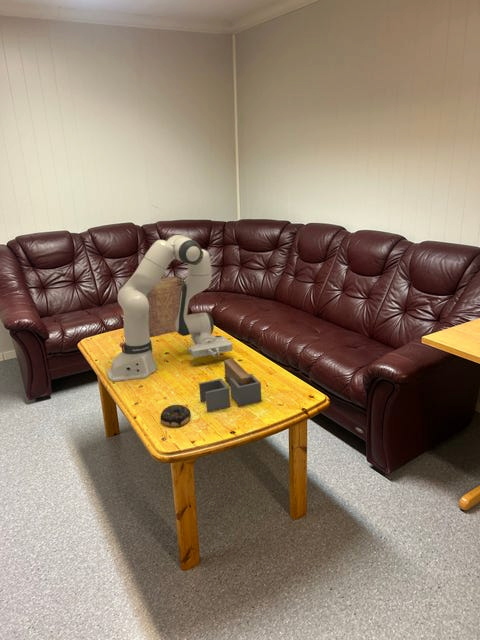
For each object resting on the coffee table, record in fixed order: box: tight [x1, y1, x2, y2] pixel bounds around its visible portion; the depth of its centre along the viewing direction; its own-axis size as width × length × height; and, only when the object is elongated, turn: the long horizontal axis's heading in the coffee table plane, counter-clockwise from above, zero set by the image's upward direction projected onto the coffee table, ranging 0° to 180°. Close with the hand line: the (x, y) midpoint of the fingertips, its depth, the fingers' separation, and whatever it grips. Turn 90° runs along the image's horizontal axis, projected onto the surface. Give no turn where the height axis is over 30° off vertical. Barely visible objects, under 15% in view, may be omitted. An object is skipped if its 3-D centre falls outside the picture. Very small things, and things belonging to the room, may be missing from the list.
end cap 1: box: [198, 378, 231, 413], centre depth 177 cm, size 9×9×8 cm
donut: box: [160, 404, 192, 428], centre depth 168 cm, size 11×12×4 cm
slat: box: [223, 358, 251, 387], centre depth 187 cm, size 4×20×10 cm, turn 22°
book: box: [146, 275, 185, 338], centre depth 257 cm, size 25×9×30 cm, turn 120°
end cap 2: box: [229, 373, 262, 407], centre depth 179 cm, size 9×9×8 cm
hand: (216, 354), depth 208 cm, fingers closed
